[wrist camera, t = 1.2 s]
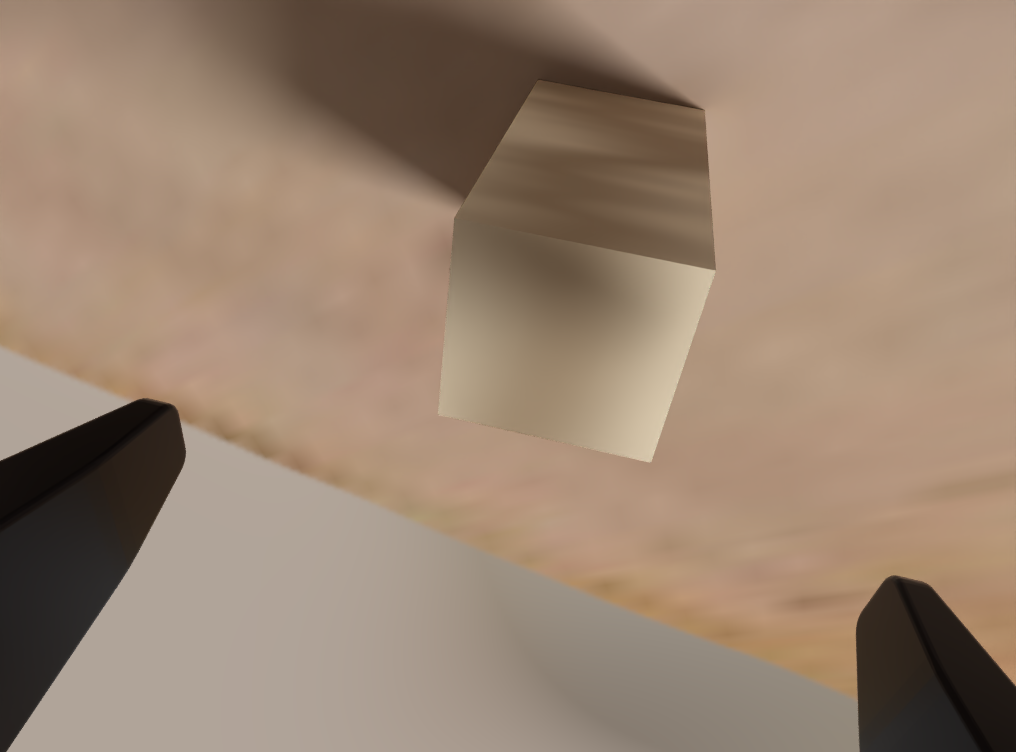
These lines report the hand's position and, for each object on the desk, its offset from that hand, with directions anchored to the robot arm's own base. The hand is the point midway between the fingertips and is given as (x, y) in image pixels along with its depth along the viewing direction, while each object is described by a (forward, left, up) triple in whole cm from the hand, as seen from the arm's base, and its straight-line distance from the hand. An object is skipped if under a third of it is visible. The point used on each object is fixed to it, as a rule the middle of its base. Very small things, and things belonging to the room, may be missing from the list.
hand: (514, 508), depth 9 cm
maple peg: (0, 0, -12) cm, 12 cm away
